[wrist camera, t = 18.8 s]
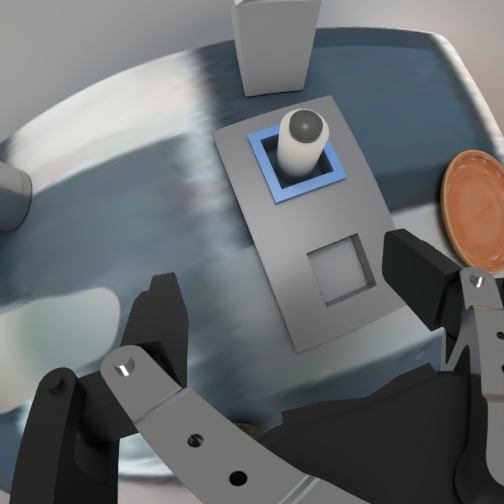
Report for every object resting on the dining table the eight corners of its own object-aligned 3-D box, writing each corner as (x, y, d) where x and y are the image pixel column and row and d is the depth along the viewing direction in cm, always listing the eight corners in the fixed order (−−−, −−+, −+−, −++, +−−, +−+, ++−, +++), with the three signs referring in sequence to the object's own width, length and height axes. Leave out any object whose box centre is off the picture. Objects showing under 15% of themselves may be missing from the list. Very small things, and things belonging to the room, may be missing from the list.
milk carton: (245, 98, 32) (231, -31, 13) (237, 58, 32) (221, -60, 13) (303, 91, 31) (328, -34, 12) (290, 51, 32) (301, -64, 13)
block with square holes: (294, 347, 30) (298, 356, 26) (214, 142, 31) (210, 128, 28) (408, 295, 29) (422, 298, 26) (326, 106, 31) (332, 91, 28)
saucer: (477, 299, 29) (491, 300, 26) (410, 204, 30) (422, 199, 27) (521, 220, 30) (533, 218, 27) (464, 136, 31) (476, 128, 28)
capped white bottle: (284, 189, 31) (293, 152, 21) (269, 157, 31) (272, 110, 21) (317, 176, 31) (340, 137, 21) (302, 145, 31) (317, 97, 21)
